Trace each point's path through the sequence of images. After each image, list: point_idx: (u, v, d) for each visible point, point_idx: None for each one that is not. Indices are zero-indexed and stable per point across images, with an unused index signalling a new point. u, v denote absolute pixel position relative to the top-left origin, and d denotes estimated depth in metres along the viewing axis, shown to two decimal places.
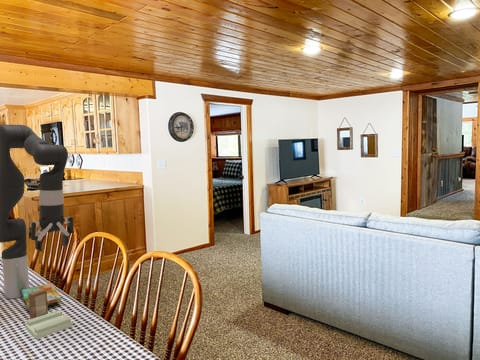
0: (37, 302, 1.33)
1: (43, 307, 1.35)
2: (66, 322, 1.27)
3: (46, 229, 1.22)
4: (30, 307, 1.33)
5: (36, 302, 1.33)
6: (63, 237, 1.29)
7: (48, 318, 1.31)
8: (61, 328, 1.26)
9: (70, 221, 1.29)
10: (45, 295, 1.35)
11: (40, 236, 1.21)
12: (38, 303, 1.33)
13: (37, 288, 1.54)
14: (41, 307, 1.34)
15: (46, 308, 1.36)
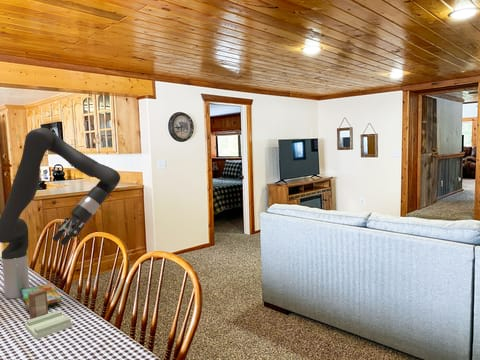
0: (37, 302, 1.33)
1: (43, 307, 1.35)
2: (66, 322, 1.27)
3: None
4: (30, 307, 1.33)
5: (36, 302, 1.33)
6: (60, 233, 1.46)
7: (48, 318, 1.31)
8: (61, 328, 1.26)
9: None
10: (45, 295, 1.35)
11: None
12: (38, 303, 1.33)
13: (37, 288, 1.54)
14: (41, 307, 1.34)
15: (46, 308, 1.36)
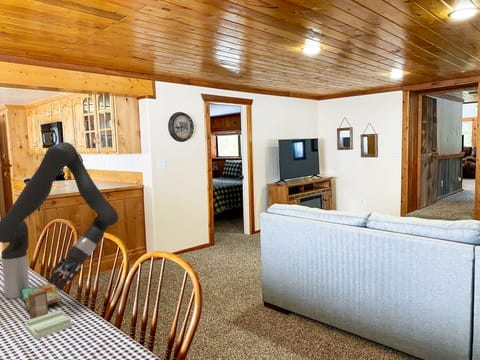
0: (37, 302, 1.33)
1: (43, 307, 1.35)
2: (66, 322, 1.27)
3: None
4: (30, 307, 1.33)
5: (36, 302, 1.33)
6: (55, 276, 1.43)
7: (48, 318, 1.31)
8: (61, 328, 1.26)
9: None
10: (45, 295, 1.35)
11: None
12: (38, 303, 1.33)
13: (37, 288, 1.54)
14: (41, 307, 1.34)
15: (46, 308, 1.36)
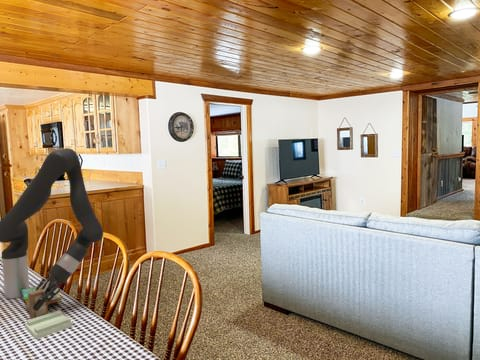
0: None
1: (43, 307, 1.35)
2: (66, 322, 1.27)
3: None
4: (30, 307, 1.34)
5: None
6: None
7: (48, 318, 1.31)
8: (61, 328, 1.26)
9: None
10: None
11: None
12: None
13: None
14: (41, 307, 1.34)
15: (46, 308, 1.36)
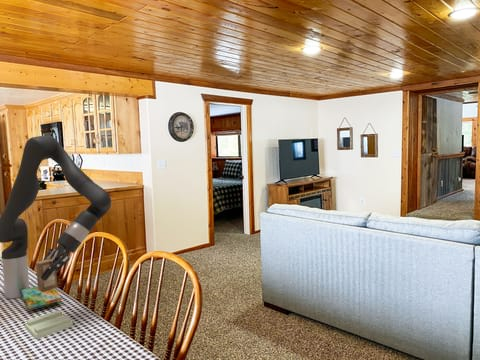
0: (44, 271, 1.25)
1: (52, 277, 1.27)
2: (66, 322, 1.27)
3: None
4: (38, 277, 1.26)
5: None
6: None
7: (48, 318, 1.31)
8: (61, 328, 1.26)
9: None
10: None
11: None
12: None
13: (37, 288, 1.54)
14: (49, 277, 1.26)
15: (55, 279, 1.28)
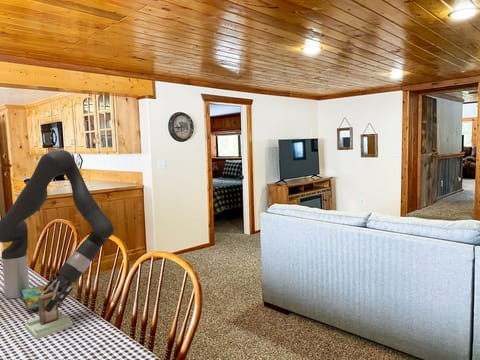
0: None
1: (53, 312, 1.27)
2: (66, 322, 1.27)
3: None
4: (40, 311, 1.27)
5: None
6: None
7: None
8: (61, 328, 1.26)
9: None
10: None
11: None
12: None
13: (37, 288, 1.54)
14: (50, 312, 1.27)
15: (56, 313, 1.28)
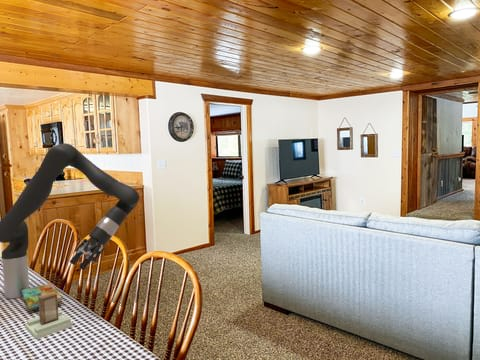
0: (46, 306, 1.26)
1: (53, 312, 1.27)
2: (66, 322, 1.27)
3: None
4: (40, 311, 1.27)
5: (46, 306, 1.26)
6: (77, 256, 1.39)
7: None
8: (61, 328, 1.26)
9: None
10: (55, 299, 1.28)
11: None
12: (47, 308, 1.26)
13: (37, 288, 1.54)
14: (50, 312, 1.27)
15: (56, 313, 1.28)
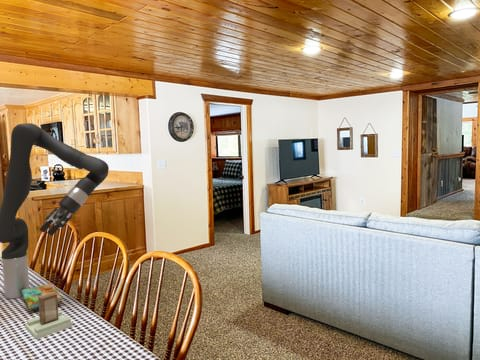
0: (46, 306, 1.26)
1: (53, 312, 1.27)
2: (66, 322, 1.27)
3: None
4: (40, 311, 1.27)
5: (46, 306, 1.26)
6: (47, 224, 1.44)
7: None
8: (61, 328, 1.26)
9: None
10: (55, 299, 1.28)
11: None
12: (47, 308, 1.26)
13: (37, 288, 1.54)
14: (50, 312, 1.27)
15: (56, 313, 1.28)
